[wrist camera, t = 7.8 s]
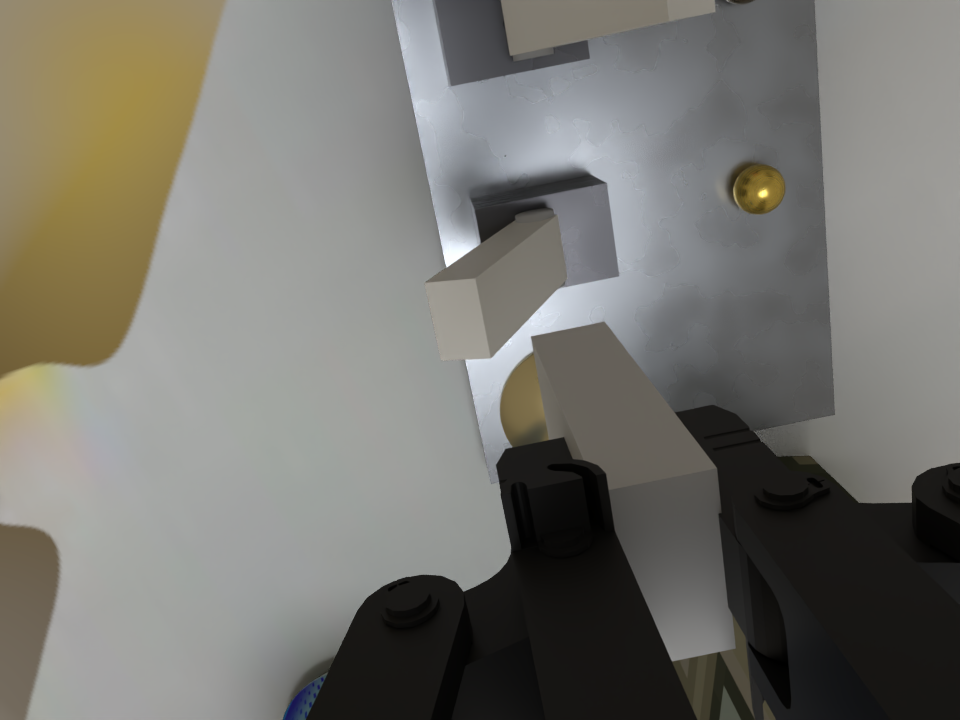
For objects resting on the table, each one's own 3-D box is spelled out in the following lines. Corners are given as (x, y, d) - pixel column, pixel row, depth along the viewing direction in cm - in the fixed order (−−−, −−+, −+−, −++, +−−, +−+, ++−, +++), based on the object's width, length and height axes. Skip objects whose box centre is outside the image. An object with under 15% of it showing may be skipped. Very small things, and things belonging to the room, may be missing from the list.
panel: (373, -90, 32) (364, -121, 27) (782, -172, 32) (845, -217, 27) (487, 464, 39) (496, 516, 35) (814, 398, 39) (868, 441, 35)
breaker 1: (519, 211, 31) (423, 275, 23) (560, 205, 30) (473, 271, 23) (532, 282, 32) (442, 367, 24) (572, 279, 31) (492, 365, 24)
